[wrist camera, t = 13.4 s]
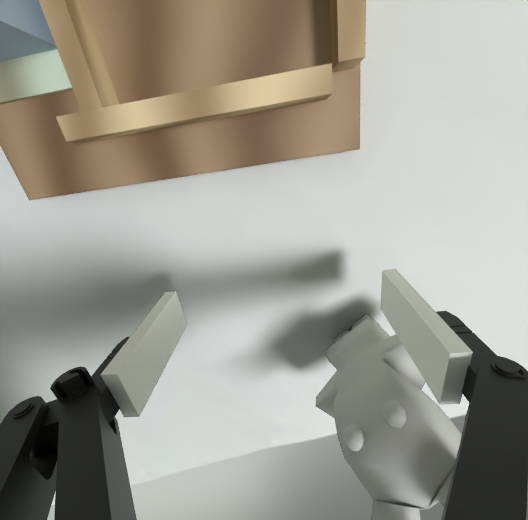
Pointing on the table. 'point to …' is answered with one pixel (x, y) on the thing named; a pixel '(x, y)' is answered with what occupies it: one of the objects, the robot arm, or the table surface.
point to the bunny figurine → (388, 423)
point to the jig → (180, 90)
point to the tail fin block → (23, 29)
